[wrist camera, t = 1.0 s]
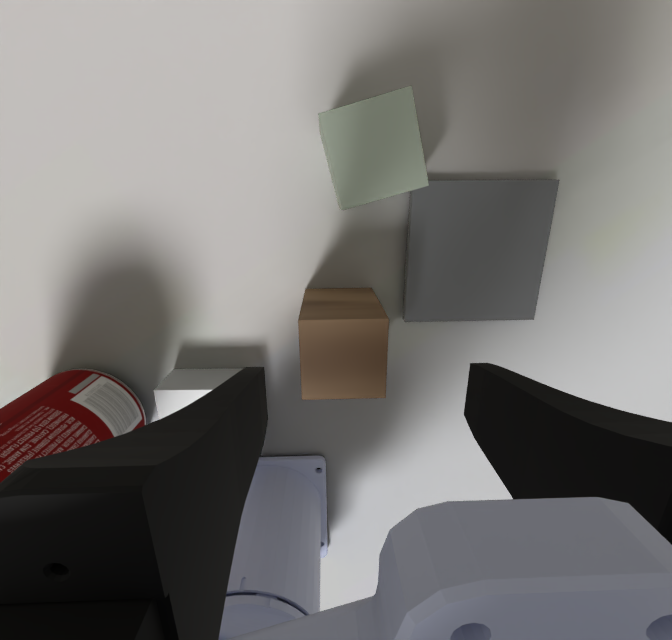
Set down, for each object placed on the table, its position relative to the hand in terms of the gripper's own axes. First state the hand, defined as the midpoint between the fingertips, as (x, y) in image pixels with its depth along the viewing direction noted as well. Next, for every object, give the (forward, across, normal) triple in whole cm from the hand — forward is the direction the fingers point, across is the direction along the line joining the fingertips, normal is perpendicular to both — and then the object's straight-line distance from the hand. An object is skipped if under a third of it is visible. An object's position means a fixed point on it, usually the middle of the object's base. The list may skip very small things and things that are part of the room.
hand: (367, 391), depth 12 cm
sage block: (+10, -1, -8) cm, 13 cm away
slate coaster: (+10, -7, -4) cm, 13 cm away
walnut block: (+10, +1, 0) cm, 10 cm away
